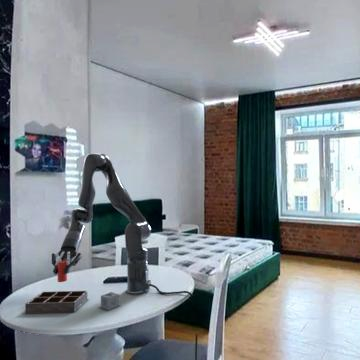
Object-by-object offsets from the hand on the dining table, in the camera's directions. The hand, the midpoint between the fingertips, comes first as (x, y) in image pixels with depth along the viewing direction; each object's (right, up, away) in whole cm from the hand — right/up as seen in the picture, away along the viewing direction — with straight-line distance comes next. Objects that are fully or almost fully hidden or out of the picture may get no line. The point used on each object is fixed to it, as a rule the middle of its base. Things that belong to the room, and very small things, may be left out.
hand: (60, 273), depth 142 cm
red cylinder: (0, -4, +2) cm, 4 cm away
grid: (+6, -10, -11) cm, 16 cm away
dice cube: (+28, -11, -12) cm, 32 cm away
